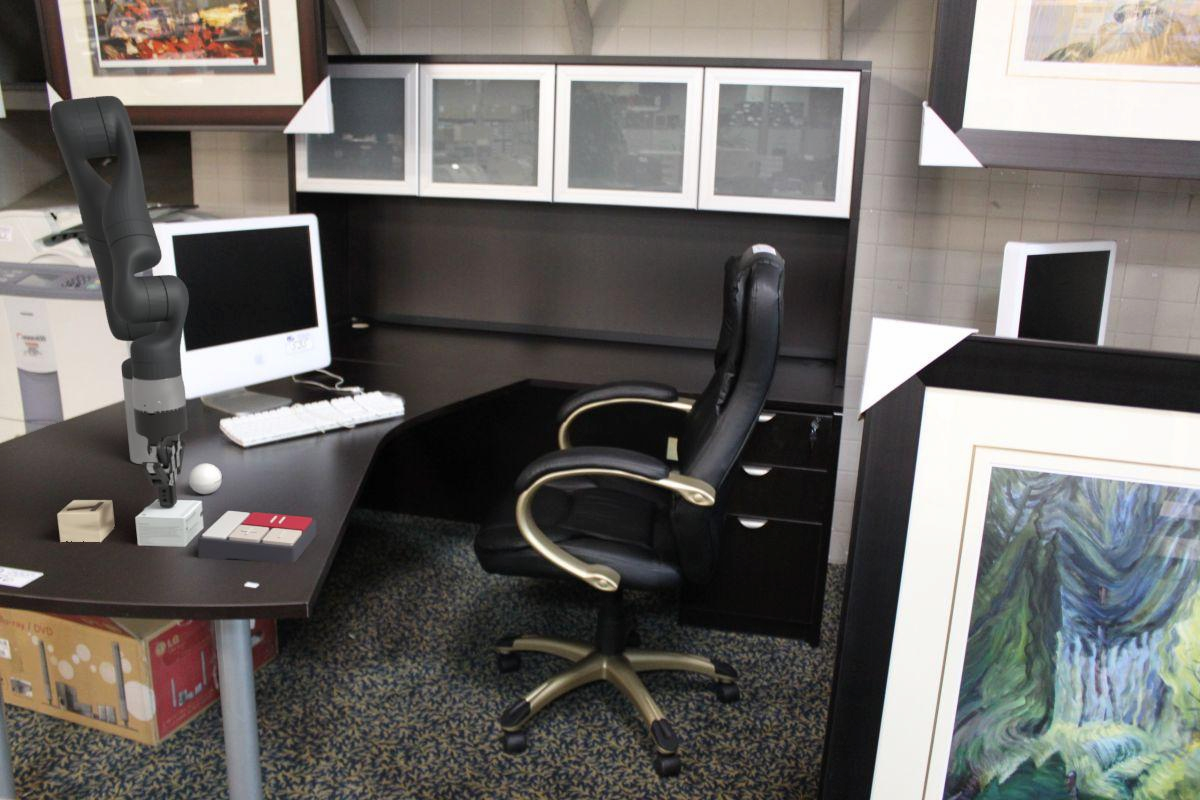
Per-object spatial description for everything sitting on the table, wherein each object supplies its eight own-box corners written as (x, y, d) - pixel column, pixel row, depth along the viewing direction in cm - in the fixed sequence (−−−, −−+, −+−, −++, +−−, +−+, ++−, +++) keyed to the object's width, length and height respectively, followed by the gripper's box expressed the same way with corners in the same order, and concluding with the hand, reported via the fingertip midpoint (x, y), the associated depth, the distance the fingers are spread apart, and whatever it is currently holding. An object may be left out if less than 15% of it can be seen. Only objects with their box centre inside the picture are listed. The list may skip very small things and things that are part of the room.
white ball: (212, 500, 169) (210, 470, 168) (183, 497, 170) (180, 467, 169) (235, 485, 177) (233, 457, 175) (207, 482, 177) (205, 454, 176)
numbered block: (76, 528, 156) (73, 499, 154) (115, 528, 156) (112, 499, 155) (60, 543, 150) (57, 513, 148) (100, 543, 150) (97, 513, 149)
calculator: (294, 543, 145) (196, 533, 145) (294, 568, 147) (197, 559, 147) (317, 515, 156) (226, 506, 156) (316, 539, 157) (226, 530, 157)
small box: (186, 548, 150) (183, 518, 149) (136, 546, 150) (133, 516, 149) (205, 528, 158) (202, 499, 156) (157, 527, 158) (155, 498, 156)
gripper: (150, 391, 154) (159, 490, 159) (117, 414, 141) (128, 521, 146) (198, 392, 155) (205, 491, 159) (169, 415, 142) (178, 521, 147)
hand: (168, 505), depth 153 cm, fingers closed
